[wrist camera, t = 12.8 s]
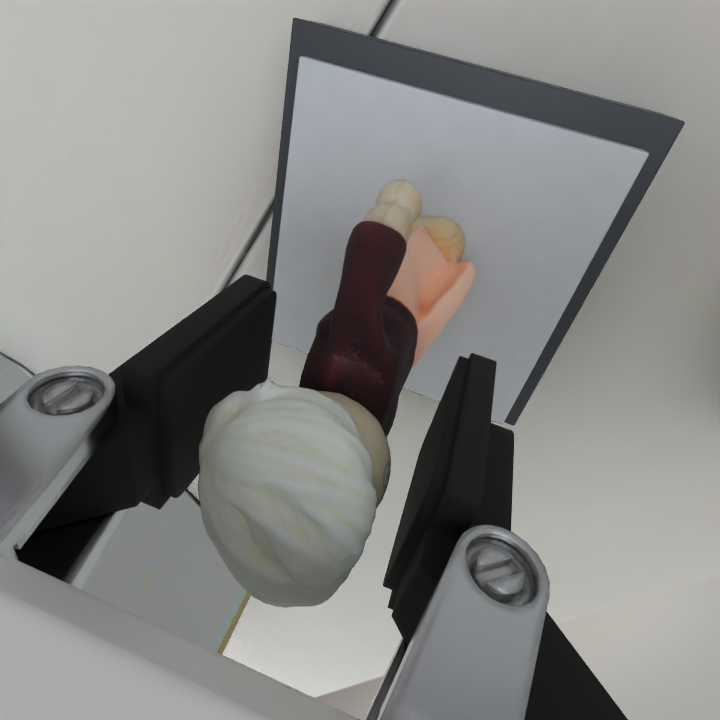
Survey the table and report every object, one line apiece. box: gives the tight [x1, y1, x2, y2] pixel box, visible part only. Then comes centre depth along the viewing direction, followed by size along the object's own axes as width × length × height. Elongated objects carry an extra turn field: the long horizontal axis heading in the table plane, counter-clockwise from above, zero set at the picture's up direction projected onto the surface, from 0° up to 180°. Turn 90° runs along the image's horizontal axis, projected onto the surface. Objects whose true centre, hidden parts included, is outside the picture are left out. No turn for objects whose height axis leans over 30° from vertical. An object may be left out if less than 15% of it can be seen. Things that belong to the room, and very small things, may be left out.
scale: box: [266, 18, 684, 425], centre depth 18 cm, size 12×12×3 cm
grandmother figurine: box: [198, 179, 475, 607], centre depth 11 cm, size 8×4×13 cm, turn 1°
